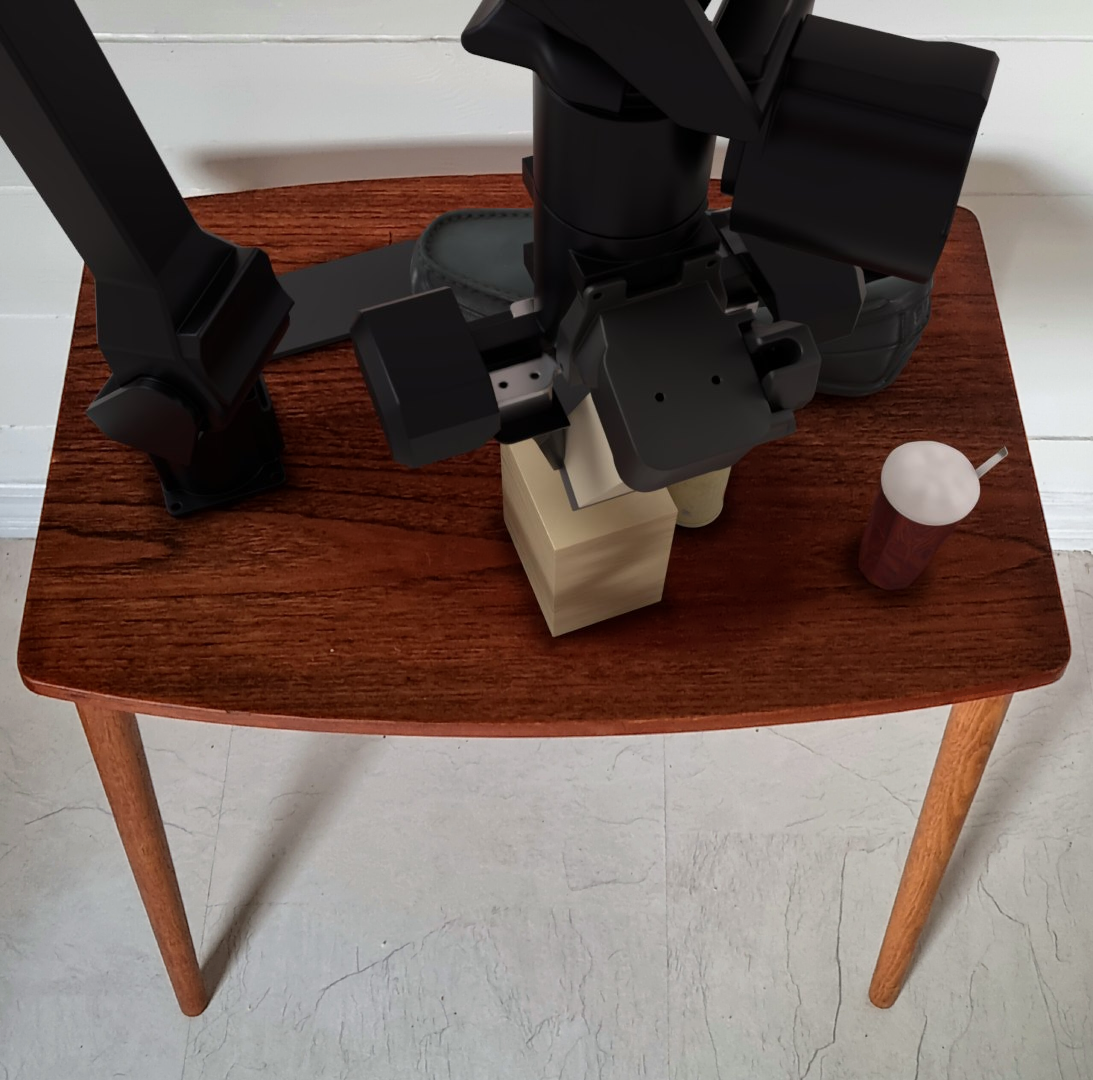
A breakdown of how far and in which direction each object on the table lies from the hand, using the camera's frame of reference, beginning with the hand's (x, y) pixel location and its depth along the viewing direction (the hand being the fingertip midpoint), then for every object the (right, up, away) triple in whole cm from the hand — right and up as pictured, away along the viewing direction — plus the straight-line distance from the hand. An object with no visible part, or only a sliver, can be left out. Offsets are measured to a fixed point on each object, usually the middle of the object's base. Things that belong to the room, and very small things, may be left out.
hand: (600, 447), depth 53 cm
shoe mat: (-15, +10, +20) cm, 27 cm away
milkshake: (+16, -5, +12) cm, 20 cm away
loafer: (+4, +8, +19) cm, 22 cm away
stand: (0, -5, +11) cm, 12 cm away
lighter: (+5, -1, +14) cm, 15 cm away
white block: (0, +1, +1) cm, 1 cm away
